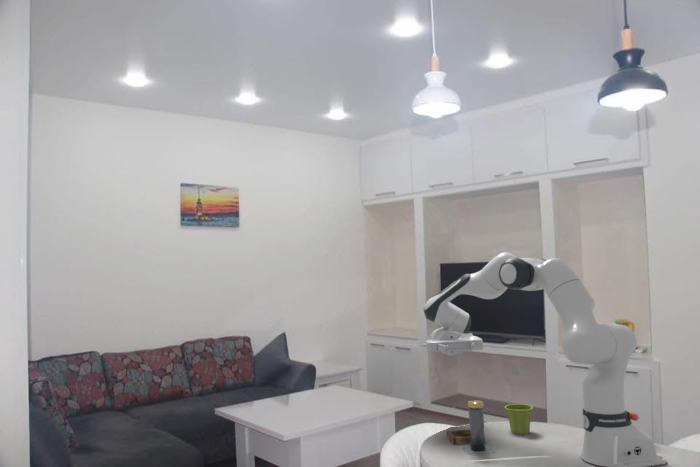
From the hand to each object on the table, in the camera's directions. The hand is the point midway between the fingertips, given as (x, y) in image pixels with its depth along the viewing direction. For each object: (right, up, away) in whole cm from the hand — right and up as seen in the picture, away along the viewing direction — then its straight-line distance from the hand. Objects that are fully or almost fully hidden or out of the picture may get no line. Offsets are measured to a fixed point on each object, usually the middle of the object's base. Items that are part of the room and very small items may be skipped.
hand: (459, 347), depth 198 cm
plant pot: (+21, -30, 0) cm, 36 cm away
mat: (+2, -29, -18) cm, 34 cm away
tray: (+1, -30, -7) cm, 30 cm away
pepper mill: (+2, -28, -18) cm, 33 cm away
